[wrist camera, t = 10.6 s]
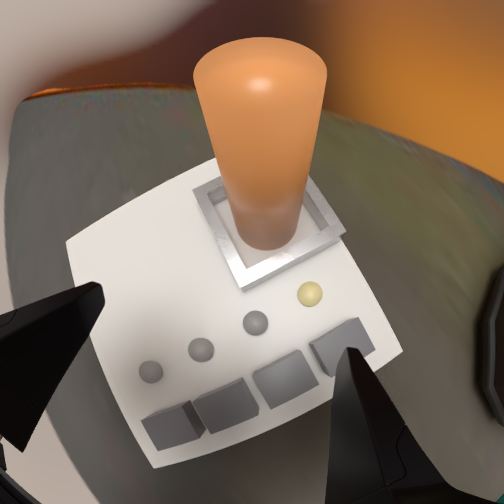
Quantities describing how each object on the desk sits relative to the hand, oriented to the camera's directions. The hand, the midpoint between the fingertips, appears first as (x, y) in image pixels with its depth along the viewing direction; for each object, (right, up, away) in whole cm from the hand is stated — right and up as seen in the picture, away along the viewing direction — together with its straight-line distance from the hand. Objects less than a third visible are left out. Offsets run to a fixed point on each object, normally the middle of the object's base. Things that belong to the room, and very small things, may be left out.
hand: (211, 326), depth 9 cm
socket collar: (+2, +5, +11) cm, 12 cm away
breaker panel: (-2, -1, +11) cm, 11 cm away
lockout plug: (+2, +5, +11) cm, 12 cm away
